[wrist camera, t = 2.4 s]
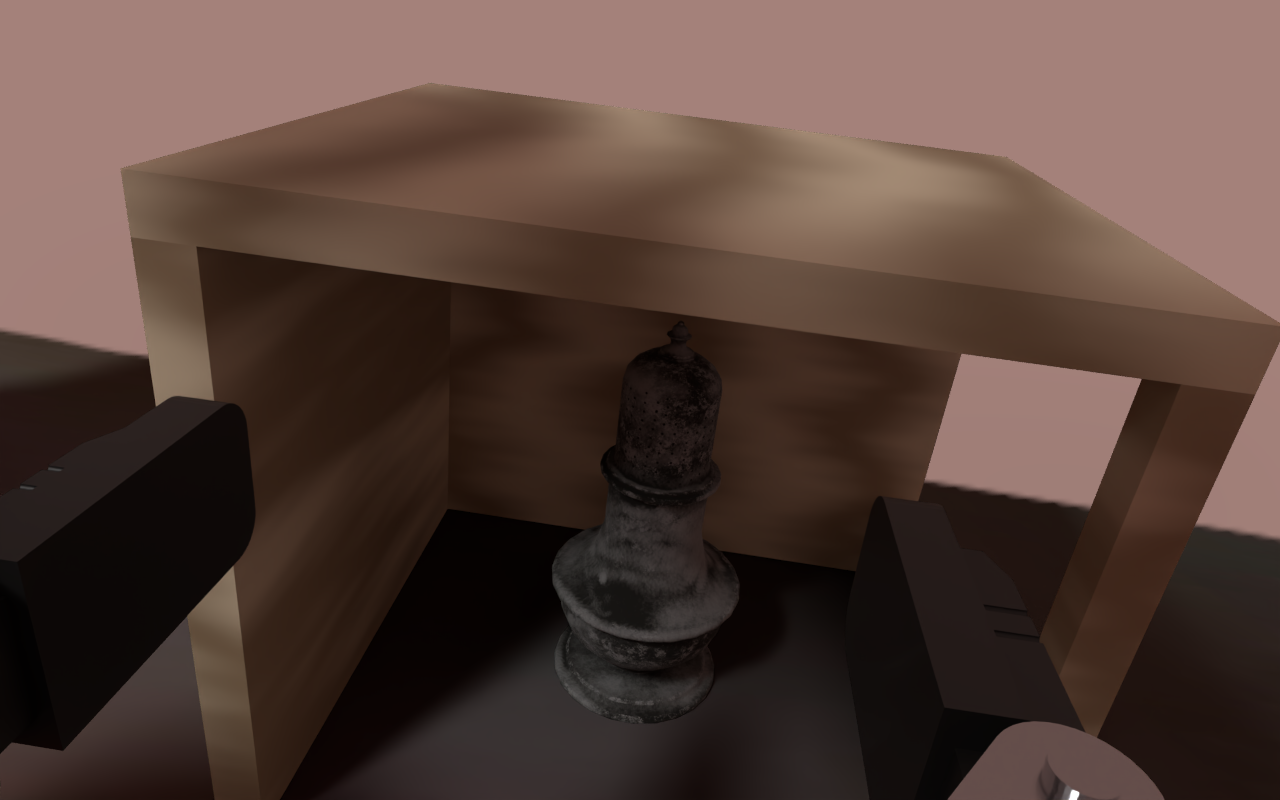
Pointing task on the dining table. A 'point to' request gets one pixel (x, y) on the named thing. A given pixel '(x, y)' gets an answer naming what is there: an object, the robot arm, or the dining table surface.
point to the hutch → (613, 336)
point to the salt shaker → (649, 550)
